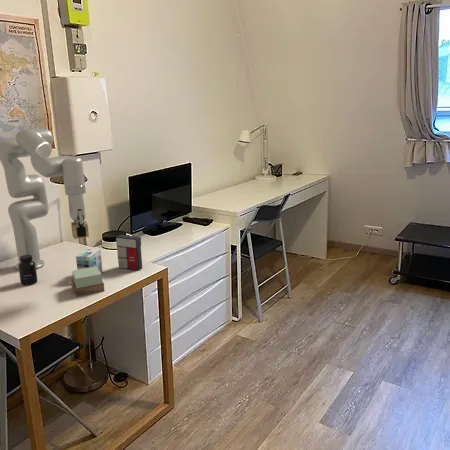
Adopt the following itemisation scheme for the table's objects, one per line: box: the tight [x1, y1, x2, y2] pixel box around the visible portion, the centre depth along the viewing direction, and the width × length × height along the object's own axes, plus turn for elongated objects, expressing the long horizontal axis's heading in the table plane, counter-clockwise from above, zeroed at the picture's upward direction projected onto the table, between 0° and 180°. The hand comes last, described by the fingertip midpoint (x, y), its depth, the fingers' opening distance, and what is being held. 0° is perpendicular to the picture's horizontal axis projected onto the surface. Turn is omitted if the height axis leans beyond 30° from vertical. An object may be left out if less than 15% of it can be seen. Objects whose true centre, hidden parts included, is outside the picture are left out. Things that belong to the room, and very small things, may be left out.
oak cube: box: [70, 220, 90, 240], centre depth 182 cm, size 6×6×6 cm
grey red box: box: [115, 234, 143, 271], centre depth 209 cm, size 11×4×15 cm, turn 68°
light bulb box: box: [75, 248, 104, 274], centre depth 202 cm, size 11×7×11 cm, turn 168°
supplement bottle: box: [18, 255, 38, 286], centre depth 196 cm, size 7×7×12 cm
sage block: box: [71, 266, 103, 288], centre depth 187 cm, size 10×10×4 cm
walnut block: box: [70, 278, 105, 298], centre depth 188 cm, size 11×11×4 cm
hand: (80, 234), depth 182 cm, fingers closed on oak cube, 5 cm apart
